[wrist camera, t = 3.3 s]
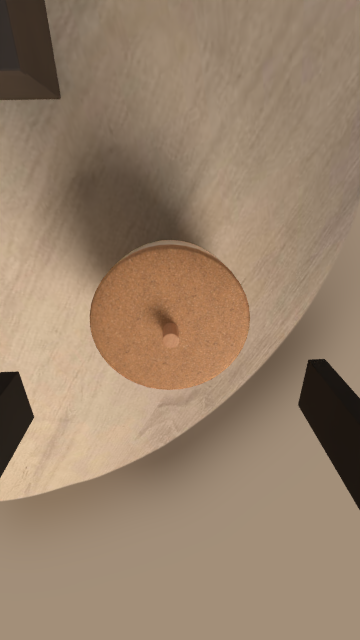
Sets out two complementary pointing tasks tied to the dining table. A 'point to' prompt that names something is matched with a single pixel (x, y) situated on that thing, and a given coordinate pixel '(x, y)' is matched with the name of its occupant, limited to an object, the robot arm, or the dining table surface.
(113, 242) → the dining table surface
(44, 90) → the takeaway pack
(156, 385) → the lidded bowl
